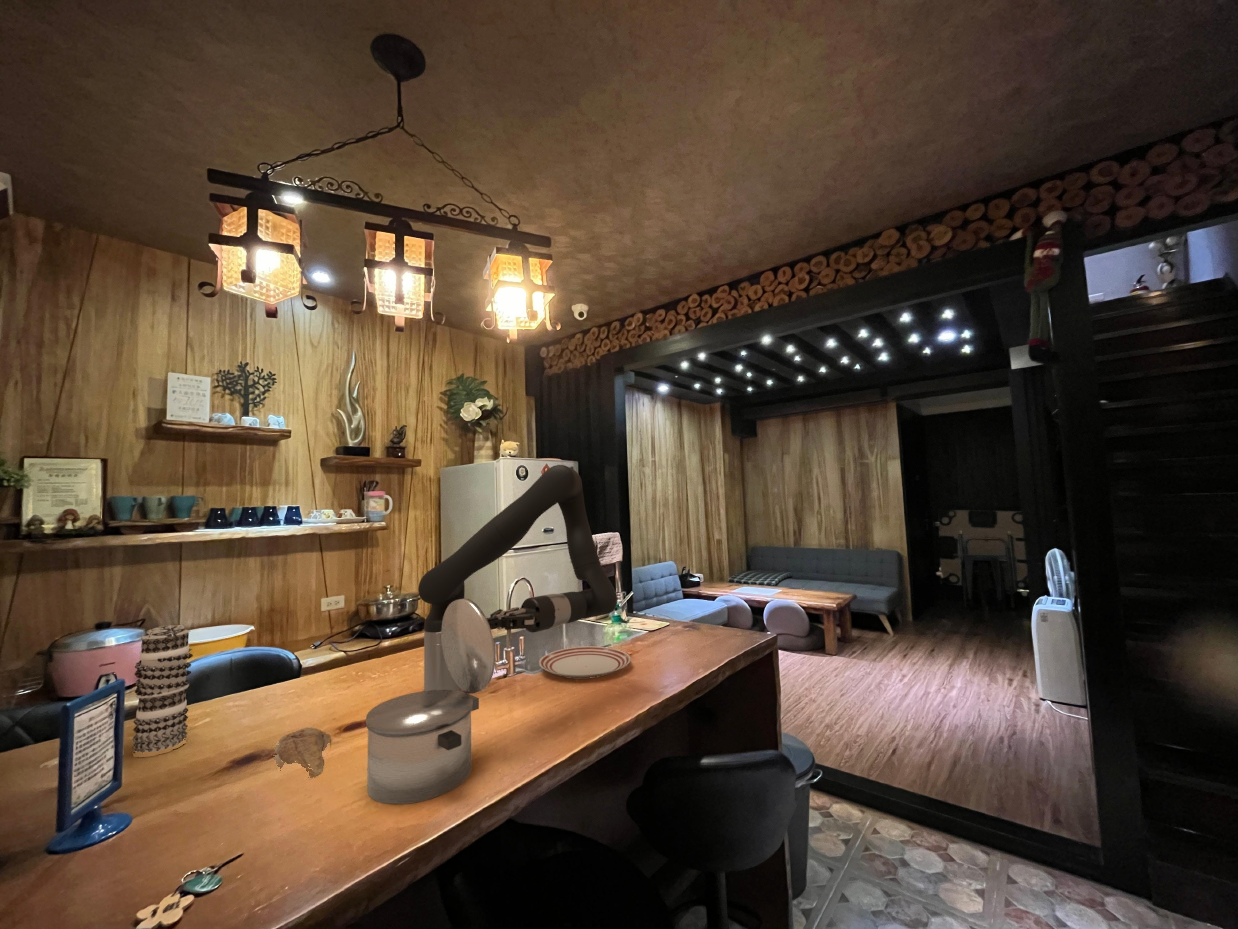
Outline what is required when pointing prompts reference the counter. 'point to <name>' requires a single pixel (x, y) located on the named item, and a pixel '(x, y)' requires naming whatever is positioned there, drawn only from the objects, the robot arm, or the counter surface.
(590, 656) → the dinner plate
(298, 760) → the fish fossil
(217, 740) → the counter surface
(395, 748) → the cooker pot
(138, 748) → the decorative candle
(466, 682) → the cooker lid
